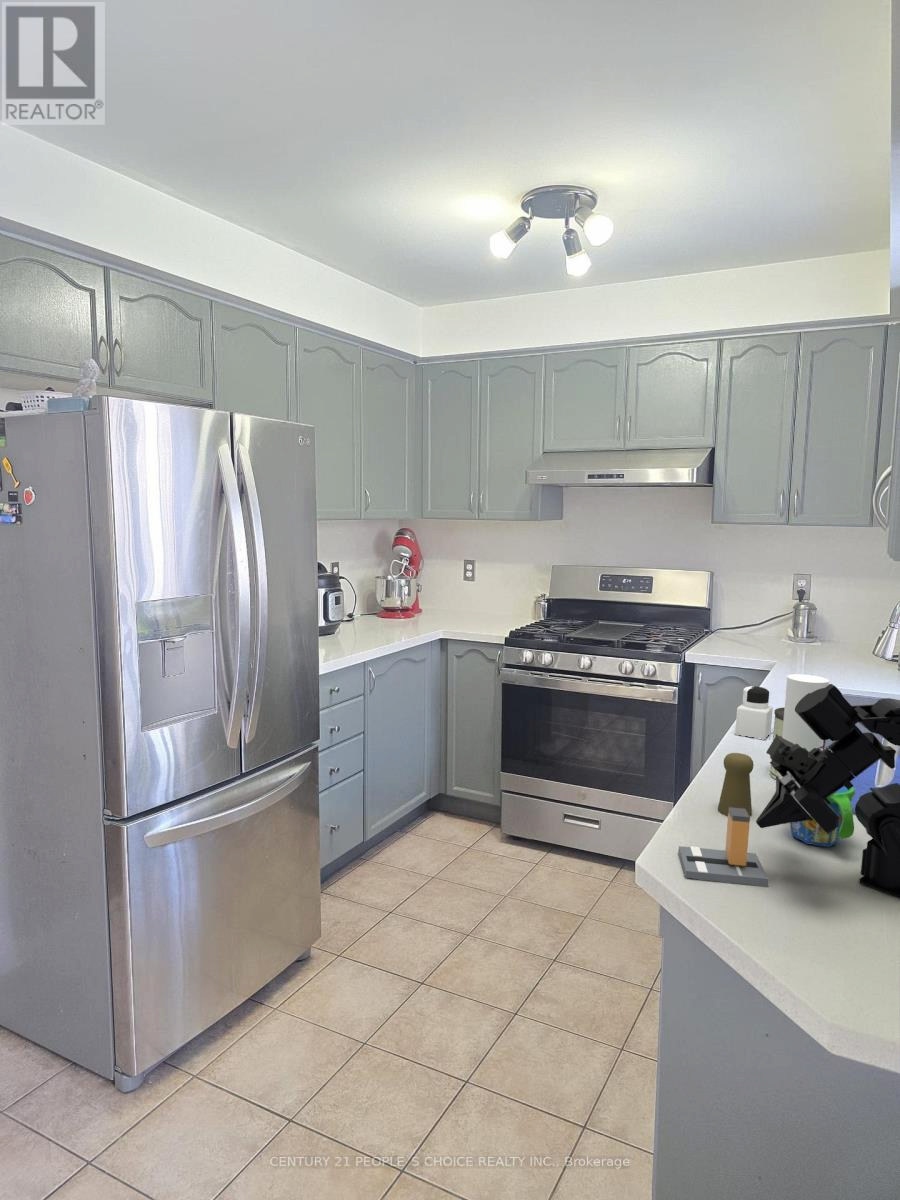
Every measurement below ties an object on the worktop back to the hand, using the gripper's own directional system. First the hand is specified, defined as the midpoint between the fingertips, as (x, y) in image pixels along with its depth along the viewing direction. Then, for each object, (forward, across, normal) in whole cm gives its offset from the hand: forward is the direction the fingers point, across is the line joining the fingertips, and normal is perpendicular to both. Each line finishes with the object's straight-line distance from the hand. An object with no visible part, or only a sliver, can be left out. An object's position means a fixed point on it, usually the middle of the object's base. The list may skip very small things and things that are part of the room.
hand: (758, 824), depth 124 cm
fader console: (+9, 0, +2) cm, 9 cm away
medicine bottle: (-6, -80, +17) cm, 82 cm away
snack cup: (-4, -16, +15) cm, 22 cm away
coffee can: (-7, -48, +18) cm, 52 cm away
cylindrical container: (-4, -31, +16) cm, 35 cm away
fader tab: (+7, 0, +3) cm, 8 cm away
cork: (+4, -25, +7) cm, 27 cm away
